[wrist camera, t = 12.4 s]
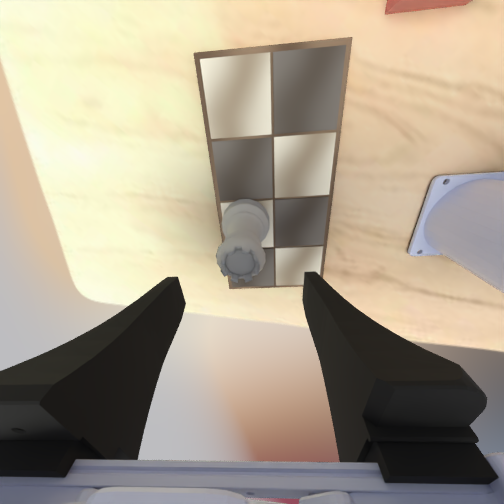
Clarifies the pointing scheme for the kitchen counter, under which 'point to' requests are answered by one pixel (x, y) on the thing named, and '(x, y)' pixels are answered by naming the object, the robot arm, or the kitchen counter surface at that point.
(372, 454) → the robot arm
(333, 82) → the game board
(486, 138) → the kitchen counter surface
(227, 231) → the rook chess piece
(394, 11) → the die
